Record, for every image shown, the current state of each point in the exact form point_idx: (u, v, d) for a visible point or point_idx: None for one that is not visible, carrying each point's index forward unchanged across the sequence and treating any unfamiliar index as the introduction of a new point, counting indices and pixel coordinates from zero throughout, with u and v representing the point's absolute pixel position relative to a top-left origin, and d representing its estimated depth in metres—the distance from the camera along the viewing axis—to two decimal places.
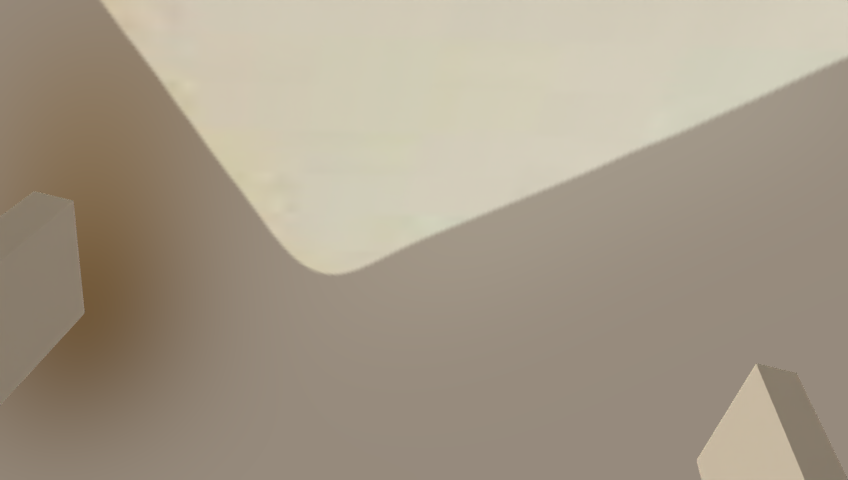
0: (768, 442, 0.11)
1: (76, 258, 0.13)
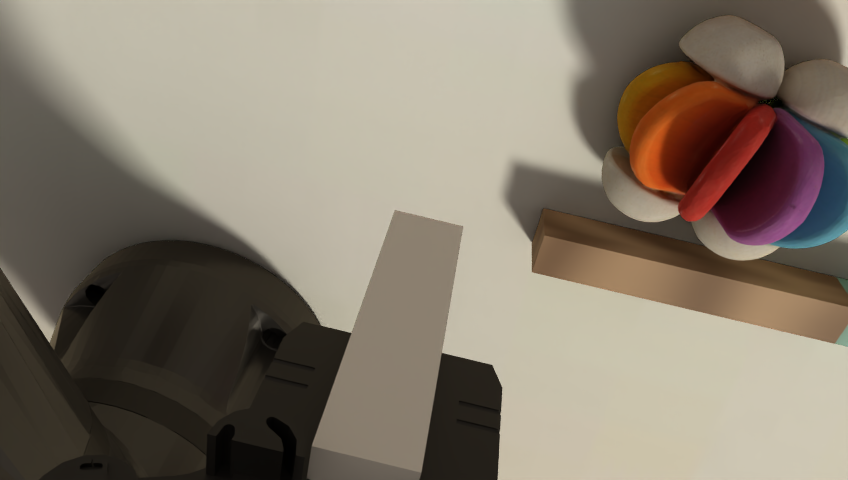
0: None
1: None
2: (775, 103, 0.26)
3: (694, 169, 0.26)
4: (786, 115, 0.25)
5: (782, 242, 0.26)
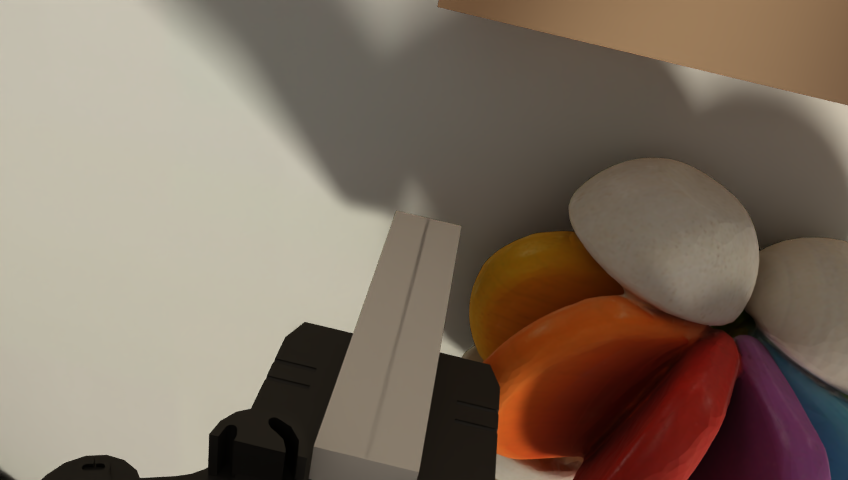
0: None
1: None
2: (741, 310, 0.15)
3: (593, 429, 0.14)
4: (759, 361, 0.13)
5: None
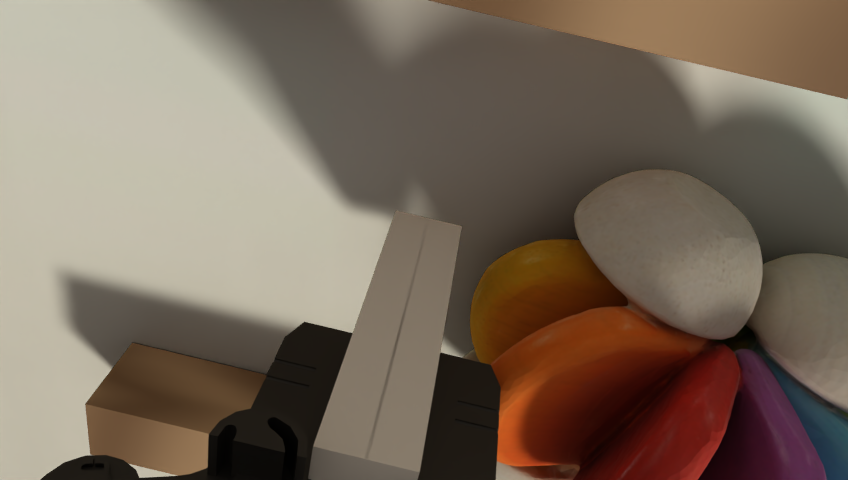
0: None
1: None
2: None
3: (591, 438, 0.14)
4: (759, 376, 0.13)
5: None
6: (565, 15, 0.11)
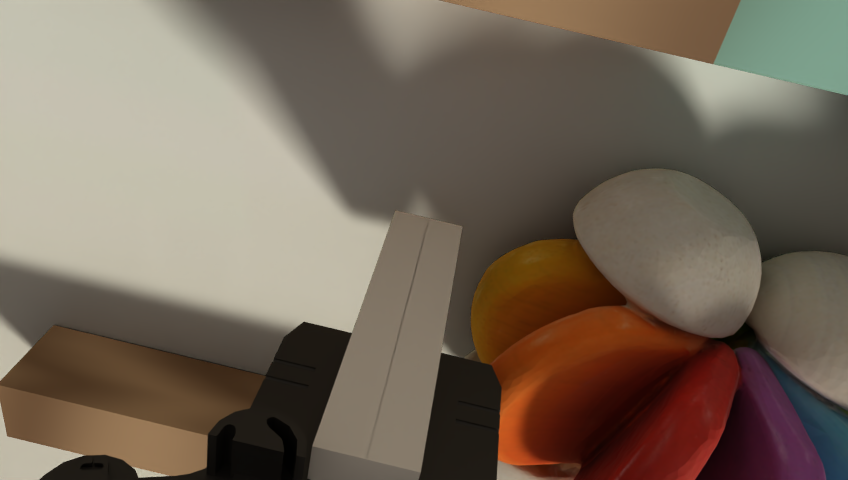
0: None
1: None
2: None
3: (592, 437, 0.14)
4: (759, 374, 0.13)
5: None
6: None
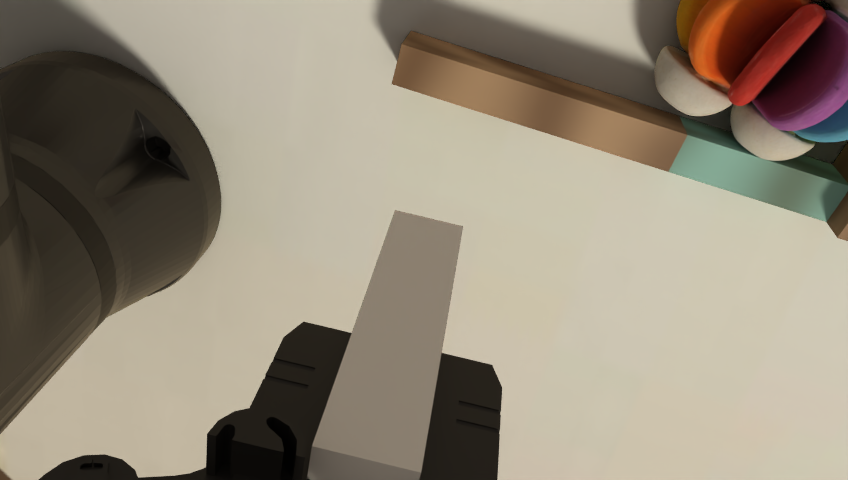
0: None
1: None
2: None
3: (744, 62, 0.29)
4: (835, 15, 0.27)
5: (817, 135, 0.29)
6: None
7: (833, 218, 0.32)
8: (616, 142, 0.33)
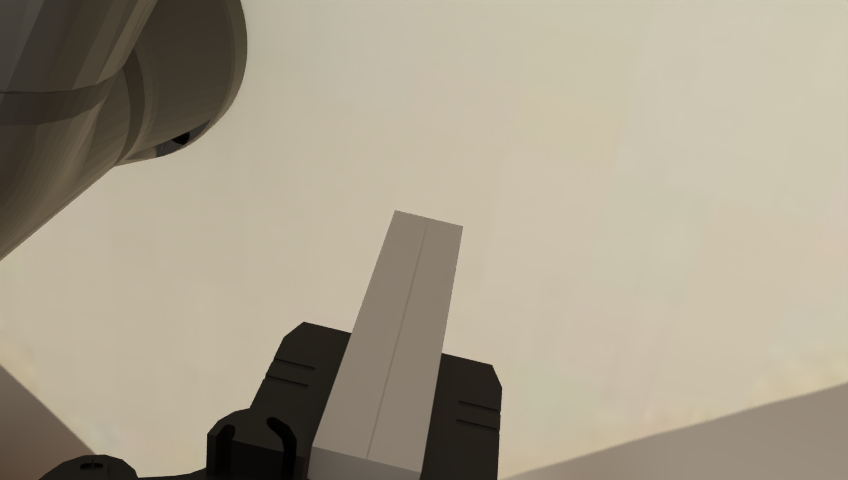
0: None
1: None
2: None
3: None
4: None
5: None
6: None
7: None
8: None
